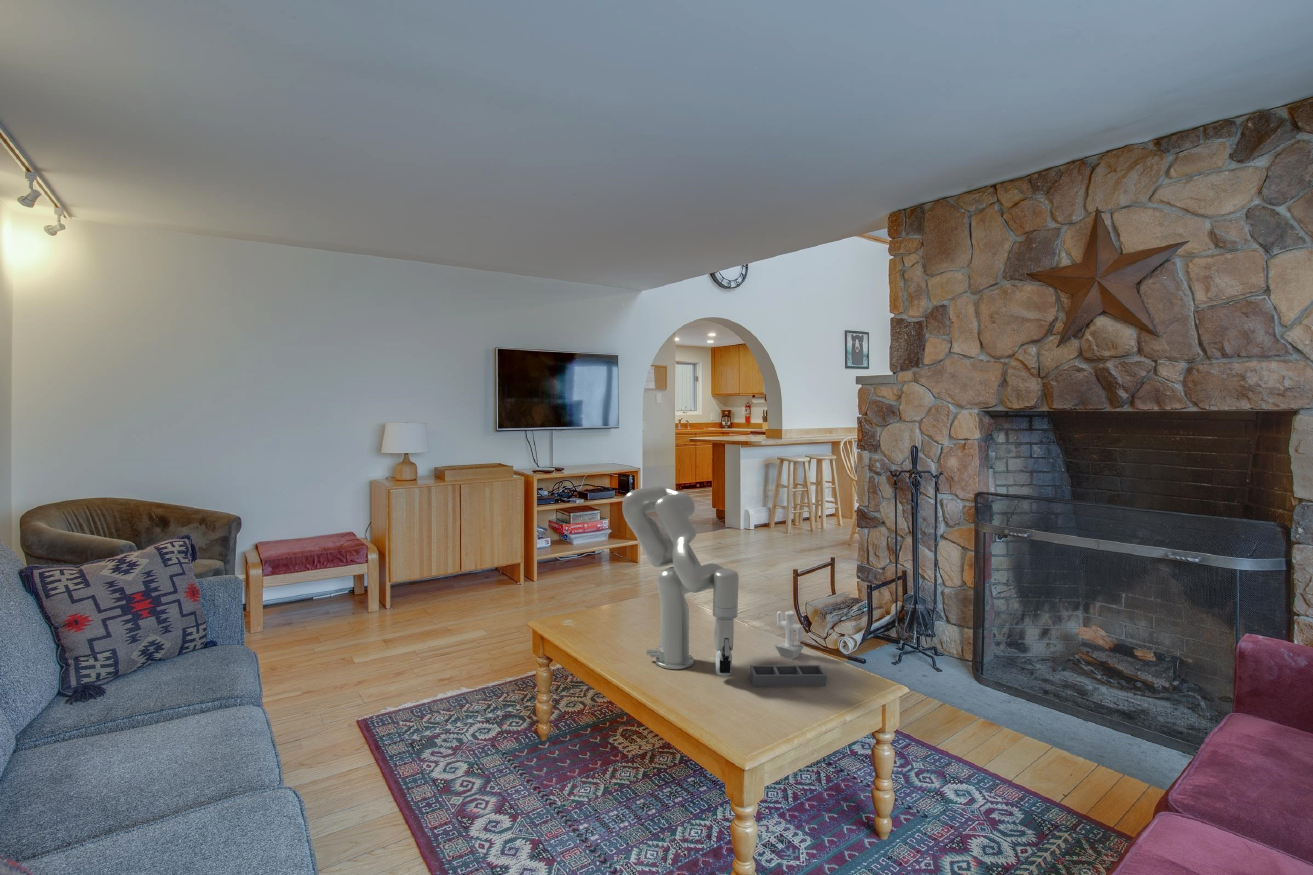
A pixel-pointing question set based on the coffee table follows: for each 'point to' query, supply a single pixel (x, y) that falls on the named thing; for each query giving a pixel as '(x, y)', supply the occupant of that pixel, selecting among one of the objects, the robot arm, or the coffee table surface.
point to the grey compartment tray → (787, 675)
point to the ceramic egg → (718, 657)
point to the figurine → (789, 636)
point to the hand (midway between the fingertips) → (723, 667)
